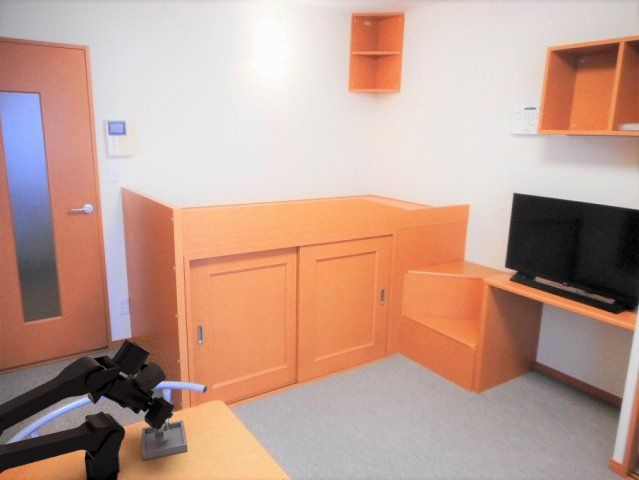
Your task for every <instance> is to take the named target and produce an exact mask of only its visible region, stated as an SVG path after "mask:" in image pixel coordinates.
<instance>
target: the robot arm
mask: <svg viewBox="0 0 639 480" xmlns="http://www.w3.org/2000/svg"><path fill="white" fill-rule="evenodd" d="M151 354H152V353H151V352H150V351H149V350H148V349H146V348H145V347H143V346H141V345H140V344H138V343H137V342H135V341H131V340H129V339H127V338H126V339H125V340H124V341H123V343H122V344H121V346H120V347H119V349H118V350H117V351H116V353H115V355H114V356H113V357H110V356H109V355H107V354H106V355H101V356H96V357H90V356H82V357H79V358H77V359H76V360H75V361H73V362H71V363H69V364H68V365H66V366H65V367H64V368H63V369H62V370H61V372H59V374H58V375H56V376H55V377H53V378H52V379H49V380H48V381H46V382H44V383H42V384H40V385H39V386H35V387H33V388H31V389H29V390H28V391H25V392H24V393H22V394H20V395H18V396H15V397H14V398H12V399H9V400H7V401H5V402H3V403H2V404H0V438H1V437H2V435H3V433H4V432H5V431H6V430H9V429H11V428H12V427H14V426H15V425H18V424H19V423H21V422H23V421H25V420H27V419H29V418H31V417H33V416H35V415H37V414H39V413H40V412H42V411H44V410H46V409H48V408H50V407H52V406H54V405H56V404H57V403H60V402H61V401H64V400H66V399H68V398H76V397H82V396H85V395H87V399H88V400H90V402H91V403H93V404H94V405H96V404H98V402H99V400H101V398H102V397H103V398H105V399H106V400H107V399H108V400H109V401H112V402H113V403H116V404H117V405H119V407H121V408H122V409H126V408H128V409H130V410H131V411H132V412H133V413H134V414H136V415H139V414H140V412H141V411H142V412H143V413H144V416H143V417H144V422H145V423H146V424H147V425H148V426H149V427H150V426H151V427H152V428H154V429H156V430H159V429H161V427H162V426H163V424H164V423H165V421H166V419H169V420H170V419H171V418H172V417H173V416H174V413H173V411H174V407H175V405H174V404H173V403H172V402H171V401H168V400H167V399H166V398H165V397H163V396H162V395H161V396H160V397H157V396H155V397H154V394H155V391H154V390H153V389H156V388H157V386H159V385H160V383H162V382H164V381H165V380H166V379H167V378H168V377H167V375H166V373H165V371H164V370H163V368H162V367H161V366H160V365H159V364H157V363H155V362H151V361H148V363H147V362H146V361H147V360H148V358H149V357H150V356H151ZM121 373H122V374H121ZM123 374H124V375H123ZM125 375H126V376H125ZM135 375H136V376H135ZM125 436H126V429H125V427H124V426H123V424H121V423H120V422H119V421H118V420H117V419H116V418H115V417H114V416H113V415H112V414H110V413H105V412H104V411H102V410H101V411H100V412H98V413H95V414H87V415H85V416H84V422H82V423H81V424H80V425H79V426H76V427H73V428H69V429H65V430H60V431H57V432H52V433H48V434H44V435H39V436H35V437H30V438H26V439H21V440H18V441H14V442H9V443H4V444H0V475H1V474H2V473H4V472H6V471H9V470H11V469H15V468H19V467H23V466H26V465H30V464H33V463H37V462H38V463H39V462H41V461H44V460H48V459H52V458H56V457H60V456H64V455H67V454H71V453H74V452H77V451H85V452H84V453H85V454H84V466H85V467H84V469H85V477H86V478H85V480H118V474H119V473H120V472H121V471H120V468H121V467H120V466H121V465H120V464H121V462H120V450H121V447H122V443H123V441H124V439H125Z"/></svg>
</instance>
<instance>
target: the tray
mask: <svg viewBox="0 0 639 480" xmlns="http://www.w3.org/2000/svg"><path fill="white" fill-rule="evenodd" d="M141 448H142V449H141V450H142V451H141V454H142V461H143V462H144V461H149V460H154V459H159V458H164V457H168V456H173V455H178V454H182V453H186V452H188V444H187V436H186V430H185V424H184V420H183V419H182V420H176V421H171V422H169V433H168V438H167V439H166V440H164V441H160V442H159V441H156V440H155V437H154V429H153V428H152V427H151V426H150V425H149V426H145V427H142V428H141Z"/></svg>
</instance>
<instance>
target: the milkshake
mask: <svg viewBox="0 0 639 480" xmlns="http://www.w3.org/2000/svg"><path fill="white" fill-rule="evenodd" d="M173 403H174V401H171V404H173ZM169 423H170V418H169V419H166V421H165V423H164V424H163V426H162V427H161V429H159V430H156V429H154V428H153V429H154V437H155V440H156V441H159V442H160V441H164V440H166V439H167V438H168V433H169Z"/></svg>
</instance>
